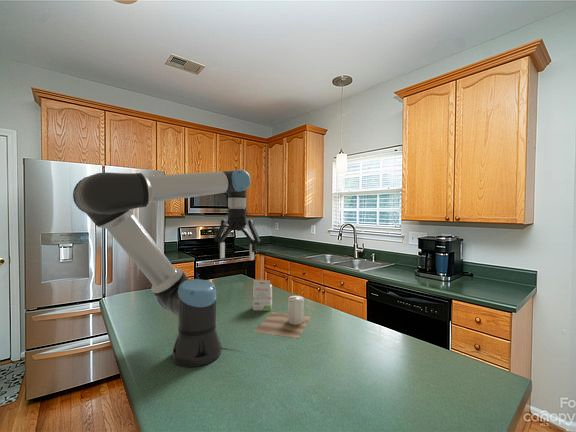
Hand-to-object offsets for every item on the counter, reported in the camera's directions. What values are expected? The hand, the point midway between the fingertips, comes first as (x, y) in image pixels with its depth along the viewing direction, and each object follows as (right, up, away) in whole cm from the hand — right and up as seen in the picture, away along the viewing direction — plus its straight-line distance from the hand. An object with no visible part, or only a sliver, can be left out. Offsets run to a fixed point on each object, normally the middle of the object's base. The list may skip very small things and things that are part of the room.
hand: (236, 258), depth 118 cm
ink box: (+9, -27, +15) cm, 32 cm away
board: (+20, -27, -2) cm, 33 cm away
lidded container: (+25, -26, +1) cm, 36 cm away
